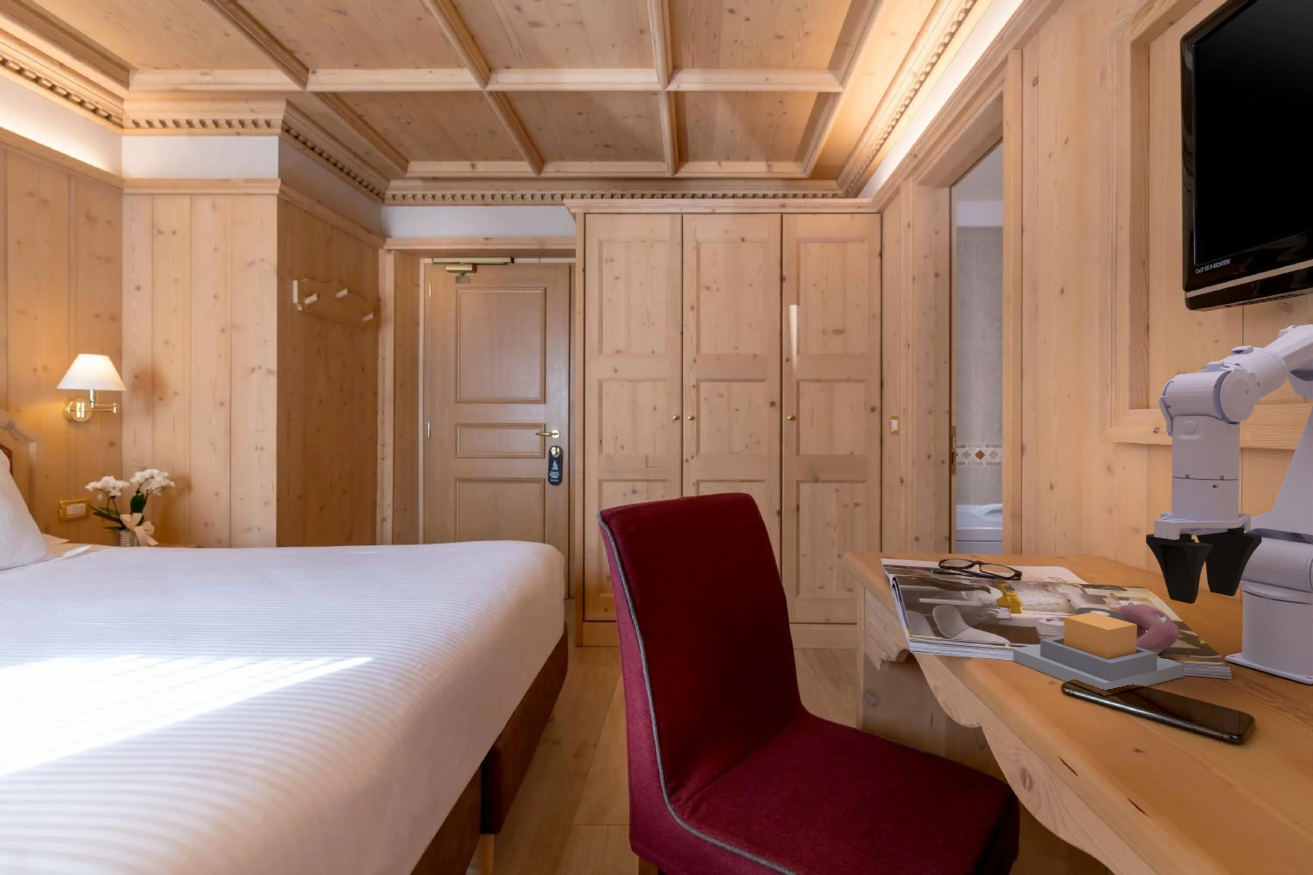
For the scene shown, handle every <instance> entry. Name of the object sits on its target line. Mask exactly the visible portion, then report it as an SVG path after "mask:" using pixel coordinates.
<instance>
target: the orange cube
mask: <svg viewBox="0 0 1313 875" xmlns="http://www.w3.org/2000/svg"><path fill="white" fill-rule="evenodd" d="M1063 625H1064V626H1063V627H1064V629H1063V632H1064V633H1063V635H1064V645H1065V646H1068V647H1071V648H1074V649H1077V650H1080V651H1083V652H1086V653H1089V654H1092V655H1095V656H1098V657H1101V658H1104V659H1107V660H1109V659H1114V658H1118V657H1123V656H1127V655H1132V654H1136V653H1137V624H1133V623H1130V622H1126V621H1122V620H1119V619H1115V618H1112V617H1108V616H1104V615H1101V614H1097V613H1093V612H1091V613H1085V614H1079V615H1076V614H1075V615H1069V616H1064V624H1063Z"/></svg>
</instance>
